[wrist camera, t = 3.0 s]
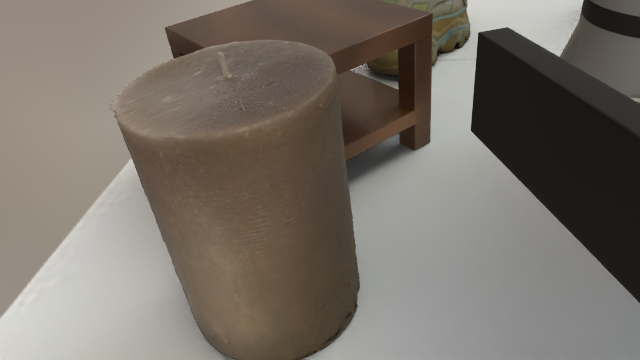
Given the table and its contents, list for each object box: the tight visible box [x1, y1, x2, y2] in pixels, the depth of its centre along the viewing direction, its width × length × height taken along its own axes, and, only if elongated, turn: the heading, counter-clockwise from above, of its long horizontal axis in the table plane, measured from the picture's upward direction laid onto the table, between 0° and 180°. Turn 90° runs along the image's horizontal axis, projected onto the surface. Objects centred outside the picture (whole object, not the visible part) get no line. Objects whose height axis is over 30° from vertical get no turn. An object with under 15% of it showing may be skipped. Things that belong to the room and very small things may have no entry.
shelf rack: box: [165, 0, 433, 160], centre depth 40 cm, size 14×15×11 cm
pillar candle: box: [110, 40, 360, 360], centre depth 25 cm, size 10×10×15 cm
